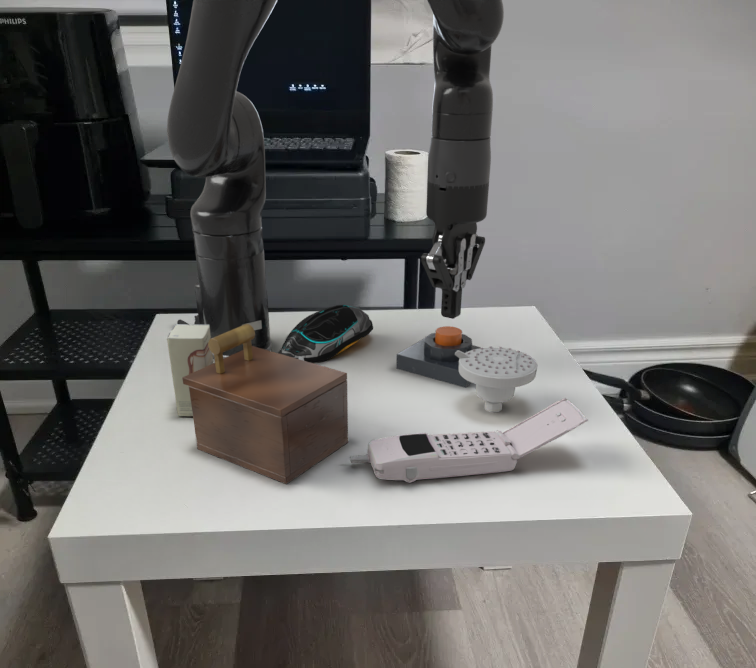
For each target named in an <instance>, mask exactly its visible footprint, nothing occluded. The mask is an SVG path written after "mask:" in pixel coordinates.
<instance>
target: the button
mask: <svg viewBox="0 0 756 668" xmlns="http://www.w3.org/2000/svg"><path fill="white" fill-rule="evenodd" d="M434 333H435V343H436V344H438V345H442V346H456V345H460V344H461V340H462V334H463V330H462V329H460V328H459V327H457V326H450V325H445V326H440V327H437V328H436V329H435V332H434Z"/></svg>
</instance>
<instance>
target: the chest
mask: <svg viewBox="0 0 756 668" xmlns="http://www.w3.org/2000/svg"><path fill="white" fill-rule="evenodd" d="M189 392H190V399H191V406H192V413H193V416H192V419H193V425H194V433H195V440H196V447H197V450H199V451H201V452H203V453H207V454H209V455H212V456H214V457H216V458H219V459H222V460H223V461H227V462H229V463H232V464H234V465H237V466H239V467H242V468H245V469H247V470H250V471H252V472H255V473H257V474H260V475H262V476H265V477H267V478H270V479H272V480H274V481H277V482H280V483H282V484H285V485H287V484H289V483H290V482H291V481H293V480H295V479H296V478H298V477H299V476H301V475H302V474H303V473H305V472H307V471H308V470H310V469H311V468H312V467H314V466H315V465H318V463H320V462H321V461H323V460H324V459H326V458H327V457H329V456H330V455H332V454H333V453H335V452H336V451H338V450H339V449H340V448H342V447H344V446H345V445H347V444H348V443H349V412H348V407H349V406H348V405H349V403H348V379H347V380H345V381H344V382H342V383H340V384H338V385H337V386H335V387H333V388H331V389H330V390H328V391H326V392H324V393H323V394H321V395H319V396H317V397H316V398H314V399H312V400H310V401H309V402H307V403H305V404H303V405H302V406H300V407H298V408H296V409H295V410H293V411H291V412H289V413H288V414H286V415H284V416H282V417H280V416H277V415H274V414H271V413H268V412H265V411H262V410H259V409H256V408H253V407H250V406H247V405H244V404H241V403H238V402H235V401H232V400H229V399H226V398H223V397H220V396H217V395H214V394H211V393H208V392H206V391H203V390H200V389H197V388H194V387H191V386H189Z"/></svg>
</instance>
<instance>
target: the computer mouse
mask: <svg viewBox="0 0 756 668" xmlns="http://www.w3.org/2000/svg"><path fill="white" fill-rule="evenodd" d="M373 330H374V325H373V321H372V320H371V319H370V316H369V314H367V313H366V312H365V311H363V310H362V309H361V308H359V307H357V306H352V305H347V304H336V305H332V306H329V307H326V308H323V309H321V310H318V311H315V312H313V313H312V314H310V315H308V316H306V317H305V318H303V319H302V320H300V321H299V322H298V323H297V324H296V325H295V326H294V327H293V328H292V329H291V331H290V332H289V334H288V335H287V336H286V337H285V339H284V341H283V344H282V345H281V348H280V349H279V351H278V352H277V353H279V354H282V355H286V356H289V357H293V358H296V359H298V357H300V356H303V358H304V361H307V362H310V363H321V362H326V361H328V360H331V359H332V358H334V357H335V356H337V355H339V354H341V353H342V352H344V351H346V350H347V349H349V348H350V347H352V346H353V345H355V344H356V343H358V342H359V341H360V340H361V339H363V338H365V337H367V336H369V335H370V334H371V333H372V331H373Z"/></svg>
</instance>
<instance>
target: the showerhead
mask: <svg viewBox="0 0 756 668" xmlns="http://www.w3.org/2000/svg"><path fill="white" fill-rule="evenodd" d="M480 347H481V348H479V349H473V350H471V351H468V352H466V353H463V352H461V351H459V350H458V351H457V352H455V355H456V356H457V357H458V358H460V359H459V373H460V375H461V376H462V377H463V378H464V379H466V380H467V381H469V382H472V384H473V385H475V391H474V393H475V395H476V396H477V398H479V399H481V400H483V401H484V410H485V411H487V412H489V413H499V412H501V411H502V410H503V403H505V402H509V401H510V400H512V399H513V398H514V397H515V393H516V388H518V387H519V388H520V387H523V386H525V385H529V384H530V383H532V382H533V381H535V378H537V377H536V376H537V370H538V362H537V361H536V360H535V358H533V357H532V356H530V355H529V354H527V353H525V352H522V351H520V350H516V349H512V348H511V347H508V348H506V347H502V346H498V347H496V346H495V347H494V346H489V347H483V346H480Z"/></svg>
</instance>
